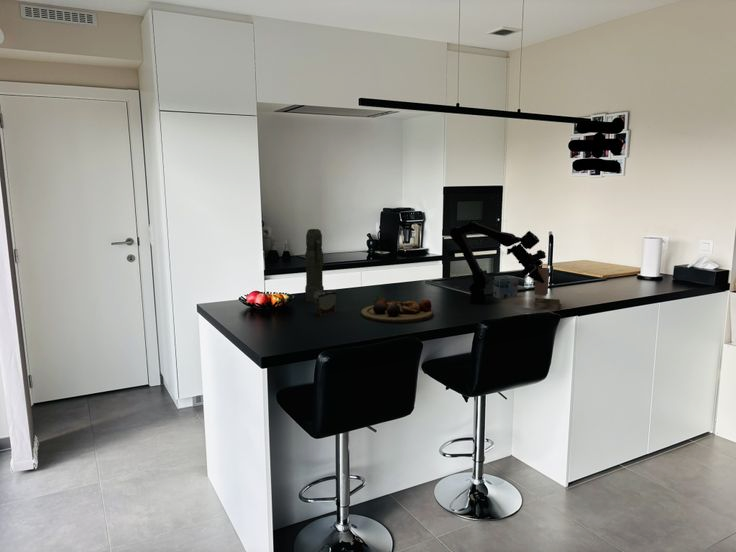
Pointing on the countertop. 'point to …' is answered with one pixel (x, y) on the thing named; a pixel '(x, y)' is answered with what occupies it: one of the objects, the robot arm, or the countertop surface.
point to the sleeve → (547, 304)
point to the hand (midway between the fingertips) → (544, 281)
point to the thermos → (313, 264)
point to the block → (542, 287)
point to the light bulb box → (505, 287)
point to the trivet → (525, 310)
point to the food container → (325, 302)
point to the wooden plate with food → (398, 311)
